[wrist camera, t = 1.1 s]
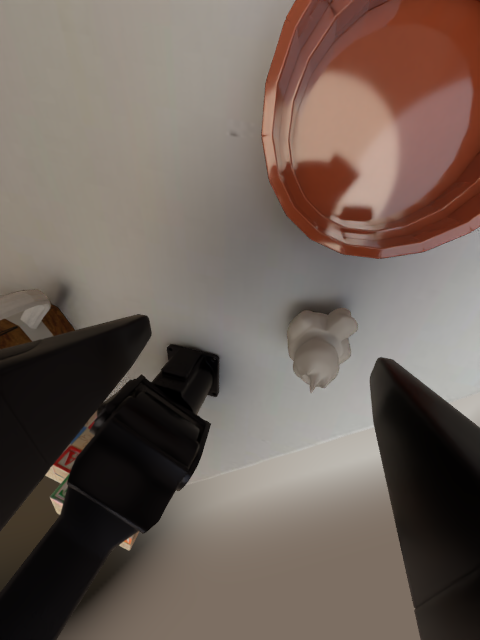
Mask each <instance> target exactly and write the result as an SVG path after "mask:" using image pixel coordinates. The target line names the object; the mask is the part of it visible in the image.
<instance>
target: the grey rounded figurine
mask: <svg viewBox="0 0 480 640" xmlns="http://www.w3.org/2000/svg"><path fill="white" fill-rule="evenodd" d="M357 329H358V325H357V322H356V320H355V319H354V318H353V317H351V312H350V311H349V310H348V309H345V308H338V309H335V310H334V311H332V312H331V313H330V314H329V315H326V314H323V313H319V312H312V311H309V310H304V311H302V312H300V313H299V314H298V315H297V316H296V317H295V318H294V319H293V320H292V321H291V323H290V324H289V327H288V330H287V338H288V352H289V356H290V358H291V359H292V360H293V361H294V363H293V370H294V372H295V374H296V375H297V376H298V377H300V378H301V379H302V380H303V381H304V382H306V383H307V384H309V385H310V392H311V393H312V392H313V390H314V389H315V387H316V386H317V387H321V388H325V387H326V386H327V385H328V384H329V383H330V382H331V381H332V380H333V379H334V378H335V377H336V376H337V374H338V371H339V365H340V364H341V363H343V362H344V361H346V360H347V359H348V358H349V357H350V356H351V349H350V344H349V341H348V337H349V336H351V335H352V334H354V333H355V332H356V331H357Z"/></svg>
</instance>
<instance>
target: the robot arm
mask: <svg viewBox="0 0 480 640" xmlns="http://www.w3.org/2000/svg"><path fill="white" fill-rule="evenodd" d="M150 337H151V327H150V321H149V318H148V317H147V316H145V315H140V314H137V315H133V316H129V317H126V318H122V319H118V320H114V321H110V322H106V323H102V324H98V325H94V326H90V327H87V328H83V329H79V330H75V331H71V332H67V333H63V334H59V335H55V336H52V337H48V338H44V339H40V340H36V341H32V342H28V343H24V344H20V345H16V346H12V347H7V348H3V349H0V531H1V530H2V529H3V527H4V526H5V525H6V524H7V522H8V521H9V520H10V518H11V517H12V516H13V515H14V514H15V512H16V511H17V510H18V509H19V507H20V506H21V505H22V503H23V502H24V501H25V500H26V499H27V497H28V496H29V495H30V494H31V492H32V491H33V490H34V488H35V487H36V486H37V485H38V483H39V482H40V481H41V480H42V479H43V477H44V476H45V475H46V473H47V472H48V471H49V470H50V467H52V466H53V464H54V463H55V462H56V461H57V459H58V458H59V457H60V456H61V454H62V453H63V452H64V451H65V449H66V448H67V447H68V446H69V444H70V443H71V442H72V441H73V439H74V438H75V437H76V436H77V434H78V433H79V432H80V431H81V429H82V428H83V427H84V426H85V424H86V423H87V422H88V421H89V419H90V418H91V417H92V416H93V414H94V413H95V412H96V411H97V418H96V419H95V421H94V424H93V425H92V427H91V429H90V430H89V432H90V433H92V434H93V435H95V436H94V437H93V438H92V439H91V440H90V442H89V443H88V444H87V445H86V446H85V448H84V449H83V450H82V451H81V452H80V454H79V455H78V456H77V457H76V459H75V461H74V464H73V466H72V468H71V471H70V475H69V478H68V481H67V485H68V487H67V491H66V495H65V499H64V502H63V506H62V510H61V514H60V516H59V518H58V519H57V520H56V522H55V523H54V524H53V525H52V527H51V528H50V529H49V531H48V532H47V533H46V534H45V536H44V537H43V538H42V540H41V541H40V542H39V544H38V545H37V546H36V547H35V549H34V550H33V551H32V552H31V554H30V555H29V556H28V558H27V559H26V560H25V561H24V563H23V564H22V565H21V567H20V568H19V569H18V570H17V572H16V573H15V574H14V576H13V577H12V578H11V580H10V581H9V582H8V583H7V585H6V586H5V587H4V589H3V590H2V591H1V592H0V640H56V639H57V638H58V636H59V635H60V633H61V631H62V630H63V628H64V626H65V625H66V623H67V622H68V620H69V618H70V617H71V615H72V614H73V612H74V610H75V609H76V607H77V606H78V604H79V602H80V601H81V599H82V598H83V596H84V594H85V593H86V591H87V590H88V588H89V586H90V585H91V583H92V581H93V580H94V578H95V577H96V575H97V573H98V572H99V570H100V569H101V567H102V565H103V564H104V562H105V560H106V559H107V557H108V556H109V554H110V553H111V551H112V550H113V549H114V548H115V547H117V546H118V545H120V544H121V543H122V542H124V541H125V540H127V539H128V538H130V537H131V536H132V535H134V534H135V533H137V532H138V531H139V532H141V533H145V532H147V531H148V530H149V529H150V528H151V527H152V526H154V525H155V524H156V523H157V522H158V521H159V520H160V518H161V516H162V514H163V512H164V510H165V508H166V506H167V504H168V503H169V501H170V499H171V498H172V496H173V494H174V492H175V491H176V490H177V491H180V490H181V489H182V488H183V487H184V486H185V485H186V483H187V482H188V481H189V479H190V478H191V476H192V475H193V473H194V471H195V469H196V467H197V465H198V463H199V461H200V458H201V456H202V452H203V449H204V446H205V442H206V439H207V436H208V432H209V429H210V425H211V423H209V422H208V421H205V420H203V419H202V418H200V417H199V416H198V415H197V413H198V412H199V410H200V408H201V406H202V404H203V402H204V400H205V398H206V397H207V395H210V396H213V397H217V396H218V394H219V357H218V356H217V355H214V354H210V353H206V352H202V351H197V350H193V349H189V348H185V347H180V346H176V345H172V344H171V345H169V346H168V347H167V353H168V362H167V363H166V364H165V366H164V367H163V368H162V369H161V372H160V373H159V374H158V375H157V376H156V378H155V379H154V380H153V381H152V382H150V381H148V380H147V379H146V377H144V376H143V375H142V374H141V375H140V376H139V377H138V378H137V379H134V380H129V381H128V382H127V383H126V384H125V386H124V387H123V388H122V389H121V390H119V391H118V392H117V393H116V394H114V395H113V396H112V397H110V398H109V399H108V400H106V401H105V402H104V400H105V399H106V398H107V397H108V395H109V394H110V393H111V392H112V390H113V389H114V388H115V387H116V385H117V384H118V383H119V382H120V380H121V379H122V378H123V377H124V375H125V374H126V373H127V372H128V370H129V369H130V368H131V366H132V365H133V364H134V362H135V361H136V359H137V358H138V356H139V355H140V353H141V351H142V350H143V348H144V347H145V345H146V344H147V342H148V341H149V339H150ZM213 358H214V359H215V360H214V359H213ZM370 390H371V401H372V413H373V422H374V427H375V432H376V437H377V441H378V446H379V450H380V455H381V459H382V464H383V468H384V473H385V478H386V482H387V487H388V491H389V496H390V501H391V505H392V510H393V514H394V519H395V523H396V528H397V532H398V537H399V541H400V546H401V551H402V555H403V560H404V564H405V569H406V574H407V578H408V583H409V587H410V592H411V596H412V601H413V605H414V608H415V615H416V620H417V625H418V629H419V633H420V638H421V640H480V427H478V426H477V425H476V424H475V423H473V422H472V421H470V420H469V419H468V418H467V417H466V416H464V415H463V414H462V413H460V412H459V411H458V410H457V409H455V408H454V407H453V406H451V405H450V404H449V403H448V402H446V401H445V400H444V399H443V398H441V397H440V396H439V395H437V394H436V393H435V392H434V391H432V390H431V389H430V388H428V387H427V386H426V385H425V384H423V383H422V382H421V381H420V380H418V379H417V378H416V377H414V376H413V375H412V374H411V373H409V372H408V371H407V370H405V369H404V368H403V367H402V366H400V365H399V364H398V363H396V362H395V361H394V360H392V359H388V358H382V357H380V358H378V359H377V361H376V363H375V366H374V368H373V371H372V373H371V376H370Z"/></svg>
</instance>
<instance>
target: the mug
mask: <svg viewBox="0 0 480 640" xmlns="http://www.w3.org/2000/svg"><path fill="white" fill-rule="evenodd" d="M71 331H75V330H74V328H73V327H72V326H71V324H70V323H69V322H68V320H67V319H66V318H65V316H64V315H63V314H62V313H61V311H60V310H59V309H58V307H56V306H54V305H52V304H50V301H49V299H48V298H47V296H46V295H45V294H44V293H42V292H41V291H39V290H26V291H25V290H23V291H17V292H14V293H11V294H8V295H5V296H2V297H0V349H3V348H7V347H12V346H16V345H20V344H24V343H28V342H32V341H36V340H40V339H44V338H48V337H52V336H55V335H59V334H63V333H67V332H71Z"/></svg>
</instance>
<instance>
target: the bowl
mask: <svg viewBox="0 0 480 640" xmlns="http://www.w3.org/2000/svg"><path fill="white" fill-rule="evenodd" d="M261 136H262V143H263V149H264V155H265V161H266V167H267V173H268V179H269V182H270V184H271V186H272V188H273V190H274V192H275V194H276V196H277V198H278V200H279V202H280V204H281V206H282V208H283V210H284V212H285V214H286V216H287V217H288V218H289V219H290V220H291V221H292V222H293V223H294V224H295V225H296V226H297V227H298V228H299V229H300V230H301V231H302V232H303V233H304V234H305V235H306V236H307V237H308V238H310V239H311V240H313V241H315V242H317V243H319V244H321V245H323V246H326V247H328V248H330V249H332V250H334V251H336V252H338V253H340V254H344V255H352V256H360V257H368V258H376V259H379V258H380V259H383V258H389V257H395V256H402V255H408V254H415V253H421V252H425V251H427V250H430V249H432V248H435V247H437V246H439V245H442V244H444V243H447V242H449V241H451V240H454V239H456V238H459V237H461V236H464V235H466V234H468V233H471V231H474V230H475V229H477V228H478V227H480V0H296V1H295V2H294V4H293V6H292V8H291V10H290V11H289V13H288V15H287V17H286V20H285V22H284V25H283V28H282V31H281V34H280V38H279V41H278V44H277V47H276V51H275V54H274V57H273V60H272V63H271V67H270V70H269V73H268V76H267V79H266V83H265V96H264V108H263V120H262V132H261Z"/></svg>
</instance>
